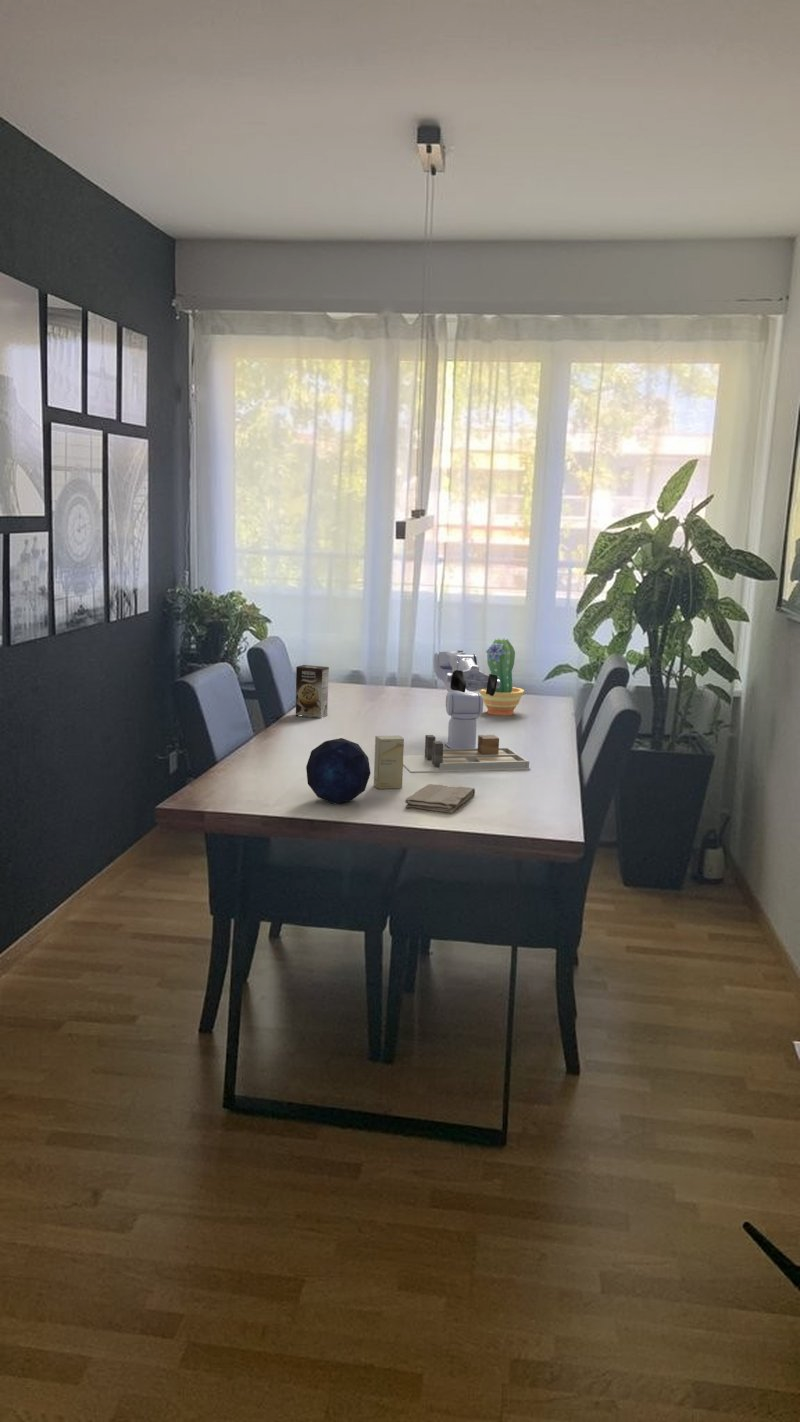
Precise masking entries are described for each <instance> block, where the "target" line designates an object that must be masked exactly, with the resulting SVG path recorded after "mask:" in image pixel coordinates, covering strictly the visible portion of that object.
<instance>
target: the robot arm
mask: <svg viewBox="0 0 800 1422" xmlns="http://www.w3.org/2000/svg"><path fill="white" fill-rule="evenodd" d="M433 672H434V674H435V676H436V678H437V679H438V680H441V681H442V683H443V685H444V687H445V689H446V691H447V693H446V695H445V710H446V714H447V715H448V716H450V719H449V721H448V730H447V731H448V733H447V734H448V735H447V736H448V737H447V741H445V742H444V745H446V746H447V747H449V748H448V749H465V748H478V745H476V743H477V726H478V725H477V724H478V723H477V719H479V717H480V716H481V715H482V714H483V711H484V702H483V697H482V695H481V694H480V693H479V692H476V691H479V690H482V689H486V688H487V690H486V694H489V695H490V696H494V694H495V690H496V688H500V683H501V681H500V680H499V679H498V677H497V675H494V674H491V673H489V674H486V673H485V672H483V671H480V667H479V666H478V658H477V655H476V654H467V652H466V651H464V650H463V649H457V650H456V651H454V650H453V651H451V650H448V651H445V650H444V651H436V652H435V653H434V654H433Z"/></svg>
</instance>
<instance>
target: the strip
mask: <svg viewBox="0 0 800 1422" xmlns="http://www.w3.org/2000/svg"><path fill="white" fill-rule="evenodd" d="M424 741H425V742H424V755H425V758H427V759H432V752H433V741H436V736H435V735H433V734H425V740H424ZM499 754H507V753H505V752H504V751H503V750H499ZM452 755H482V754H480V753H479V752H478V751H447V752H443V756H452Z"/></svg>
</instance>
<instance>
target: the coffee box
mask: <svg viewBox="0 0 800 1422" xmlns="http://www.w3.org/2000/svg"><path fill="white" fill-rule="evenodd" d="M295 669H296V675H295V676H296V678H295V680H296V681H295V682H296V683H295V685H296V686H295V716H296V715H302V716H310V717H309V718H312V717H318V718H317V719H322V717H323V718H325V717H327V716H328V711H329V710H328V709H329V708H328V707H329V706H328V705H329V704H328V703H329V700H328V699H329V674H330V673H329V670H330V667H329V666H323V665H322V666H320V665H309V664H302V665H298V666H296V668H295ZM326 715H327V716H326ZM324 716H325V717H324Z"/></svg>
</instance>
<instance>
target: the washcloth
mask: <svg viewBox="0 0 800 1422" xmlns="http://www.w3.org/2000/svg"><path fill="white" fill-rule="evenodd" d="M475 794H476V789H475V788H474V787H469V786H468V787H467V786H454V785H453V786H450V785H443V784H433V783H429V784H426V785H425V786H423V787H422V788H421V789H419V790H416V791H415V792H414V793H412V795H410V796H408V797H406V798H405V800H404V803H405V804H406V805H405V807H404V808H405V809H410V810H414V811H421V812H428V813H429V812H430V813H437V814H444V815H447V814H449V815H450V814H454V813H456V812H458V811H460V809H462V808H463V807H464V806H466V804H468V802H470V801H471V800H473V798H474V797H475Z"/></svg>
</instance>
